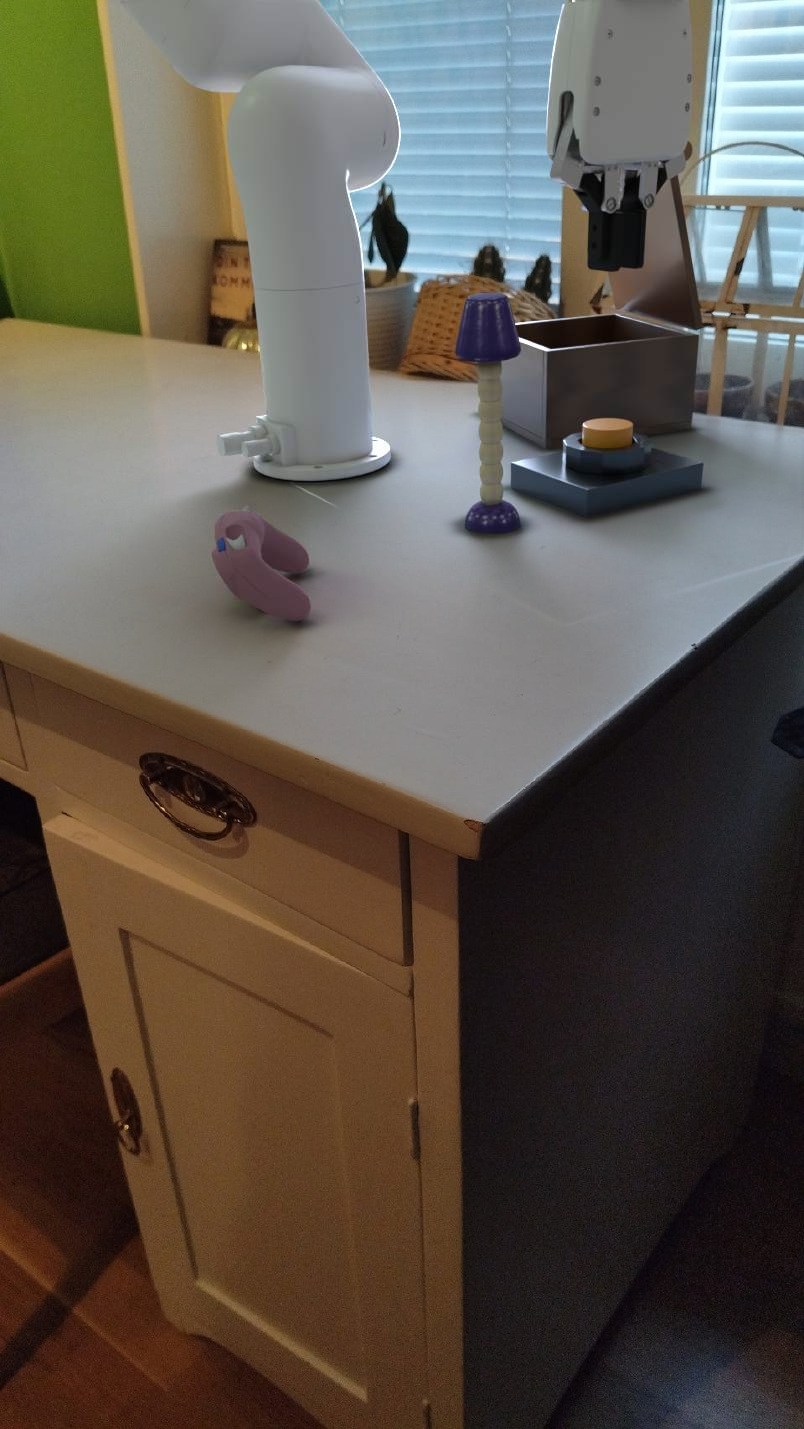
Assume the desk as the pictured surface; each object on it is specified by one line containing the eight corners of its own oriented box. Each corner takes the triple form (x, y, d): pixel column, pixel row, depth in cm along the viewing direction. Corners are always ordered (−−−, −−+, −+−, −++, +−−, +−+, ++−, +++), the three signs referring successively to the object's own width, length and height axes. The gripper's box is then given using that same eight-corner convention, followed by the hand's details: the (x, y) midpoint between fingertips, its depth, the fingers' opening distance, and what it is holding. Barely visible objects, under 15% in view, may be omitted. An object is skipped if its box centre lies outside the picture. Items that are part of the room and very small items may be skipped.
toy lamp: (516, 537, 81) (517, 299, 74) (454, 536, 82) (449, 300, 74) (523, 517, 86) (525, 289, 78) (463, 515, 87) (460, 290, 79)
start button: (603, 455, 87) (604, 432, 86) (571, 444, 90) (572, 423, 89) (642, 446, 89) (643, 424, 88) (609, 436, 92) (610, 415, 91)
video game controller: (259, 592, 78) (204, 510, 75) (315, 560, 77) (261, 476, 74) (255, 650, 69) (191, 560, 66) (317, 615, 69) (256, 523, 65)
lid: (664, 143, 94) (718, 120, 94) (580, 143, 107) (628, 123, 107) (696, 331, 102) (746, 308, 103) (615, 309, 116) (659, 290, 116)
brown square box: (545, 448, 103) (547, 351, 99) (481, 414, 116) (480, 326, 112) (691, 429, 107) (699, 334, 103) (614, 397, 120) (618, 312, 116)
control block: (586, 518, 85) (588, 467, 83) (510, 488, 92) (510, 440, 90) (701, 489, 90) (706, 440, 88) (620, 463, 98) (623, 417, 96)
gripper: (676, -15, 81) (659, 255, 89) (501, -18, 74) (501, 275, 83) (753, -28, 75) (727, 262, 84) (572, -33, 68) (563, 284, 77)
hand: (615, 267), depth 83 cm, fingers closed
